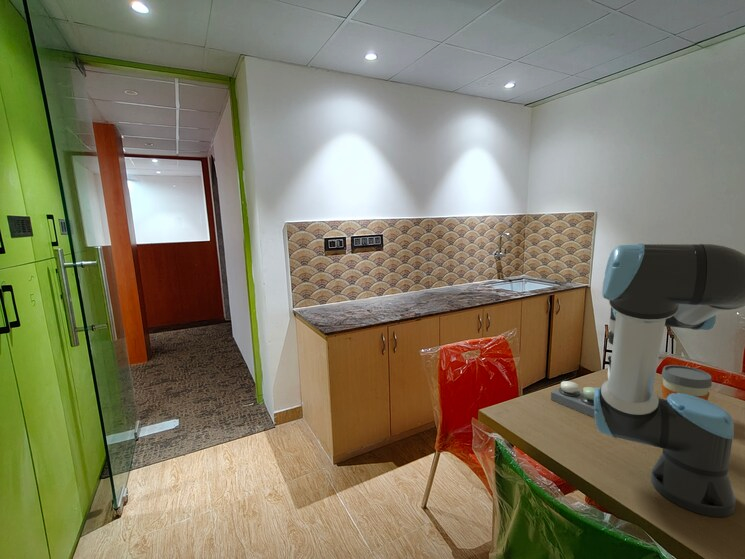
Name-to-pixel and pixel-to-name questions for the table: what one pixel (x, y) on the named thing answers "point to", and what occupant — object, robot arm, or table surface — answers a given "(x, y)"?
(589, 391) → the sage button
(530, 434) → the table surface
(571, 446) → the table surface
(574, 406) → the button panel
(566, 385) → the cream button
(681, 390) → the reusable coffee cup
